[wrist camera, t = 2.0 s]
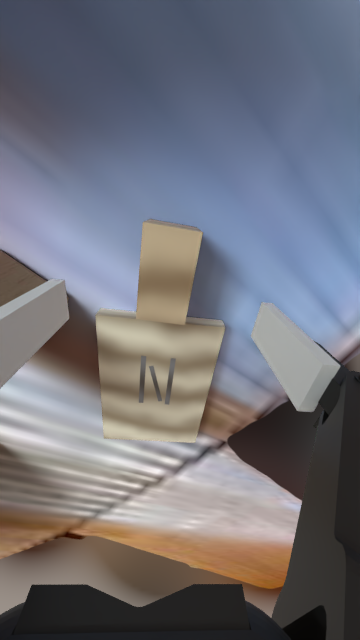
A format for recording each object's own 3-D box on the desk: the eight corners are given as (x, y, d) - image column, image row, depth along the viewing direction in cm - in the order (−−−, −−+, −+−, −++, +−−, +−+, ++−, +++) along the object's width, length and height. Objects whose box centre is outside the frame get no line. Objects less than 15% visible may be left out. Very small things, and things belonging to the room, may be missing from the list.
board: (100, 308, 27) (95, 315, 25) (222, 320, 28) (225, 327, 26) (107, 427, 38) (103, 438, 36) (194, 432, 39) (195, 443, 37)
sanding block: (150, 218, 22) (142, 221, 17) (196, 227, 23) (202, 232, 17) (143, 296, 26) (136, 319, 21) (182, 302, 27) (184, 325, 22)
